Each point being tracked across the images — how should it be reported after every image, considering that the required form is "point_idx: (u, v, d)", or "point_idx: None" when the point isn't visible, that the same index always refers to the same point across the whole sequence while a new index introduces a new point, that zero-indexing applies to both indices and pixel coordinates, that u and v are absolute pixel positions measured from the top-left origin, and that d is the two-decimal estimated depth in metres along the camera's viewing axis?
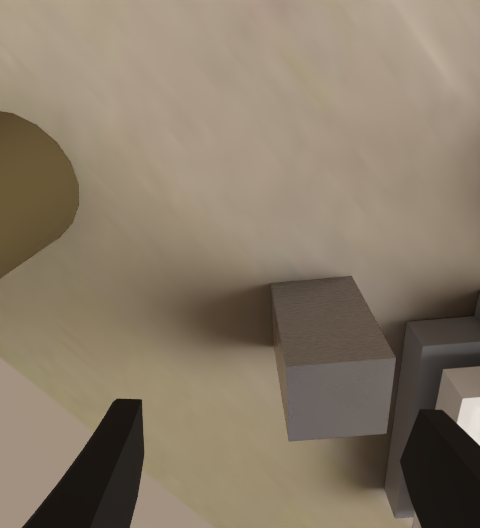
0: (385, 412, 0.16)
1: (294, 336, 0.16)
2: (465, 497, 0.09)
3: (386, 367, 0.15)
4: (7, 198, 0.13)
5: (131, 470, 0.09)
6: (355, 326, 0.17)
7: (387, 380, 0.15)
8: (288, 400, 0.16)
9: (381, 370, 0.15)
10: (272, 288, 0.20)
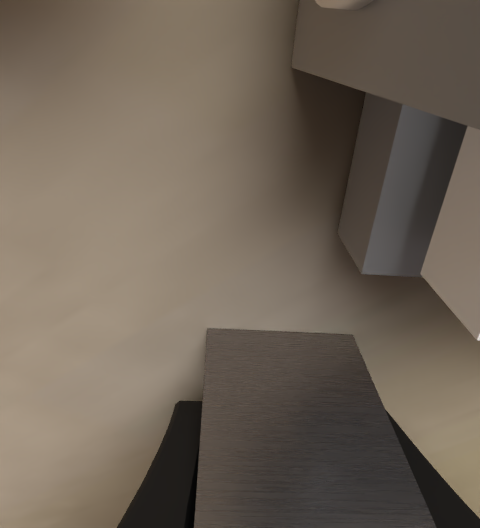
0: None
1: None
2: None
3: None
4: None
5: None
6: None
7: None
8: None
9: None
10: None
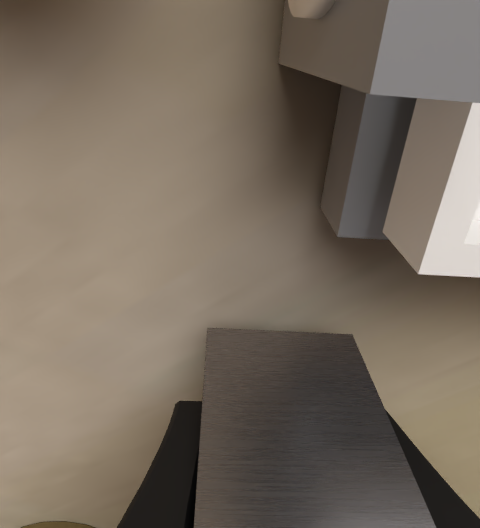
0: None
1: None
2: None
3: None
4: None
5: None
6: None
7: None
8: None
9: None
10: None
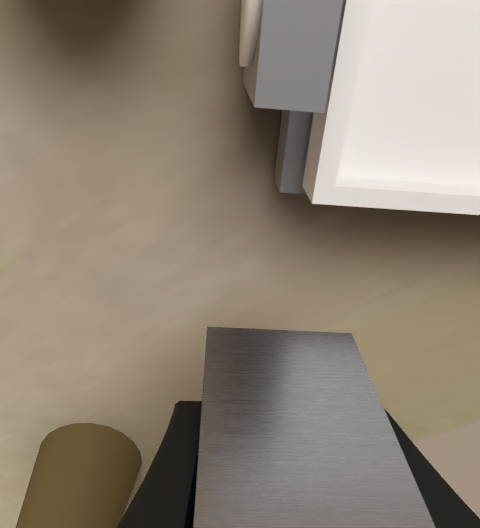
0: None
1: None
2: None
3: None
4: (46, 505, 0.20)
5: None
6: None
7: None
8: None
9: None
10: None
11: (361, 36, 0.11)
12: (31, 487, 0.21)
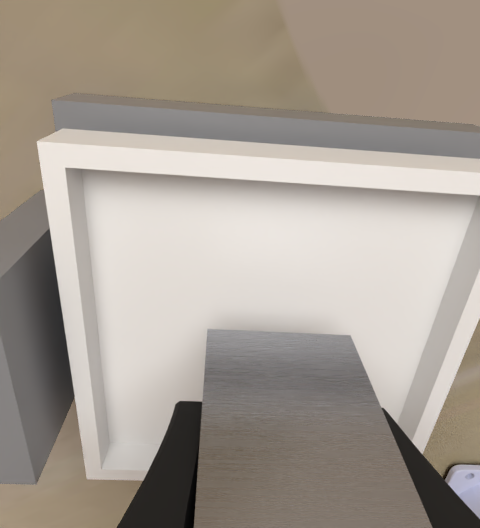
0: None
1: None
2: None
3: None
4: None
5: None
6: None
7: None
8: None
9: None
10: None
11: (90, 392, 0.14)
12: None
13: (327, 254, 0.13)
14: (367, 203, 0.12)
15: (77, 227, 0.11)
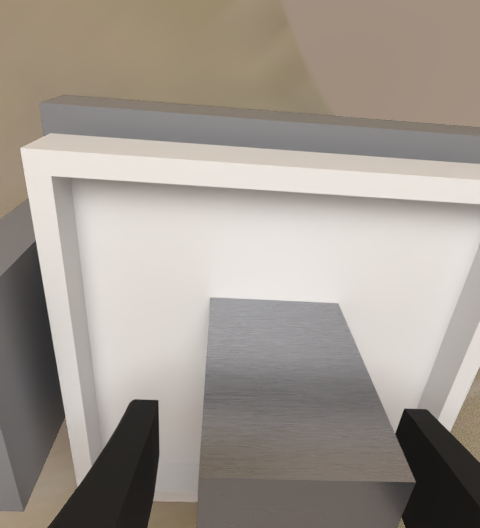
0: (349, 485, 0.08)
1: None
2: (446, 497, 0.09)
3: (221, 488, 0.08)
4: None
5: (149, 470, 0.09)
6: None
7: (258, 484, 0.08)
8: None
9: (227, 495, 0.08)
10: None
11: (82, 411, 0.13)
12: None
13: (332, 266, 0.12)
14: (375, 212, 0.12)
15: (65, 238, 0.11)
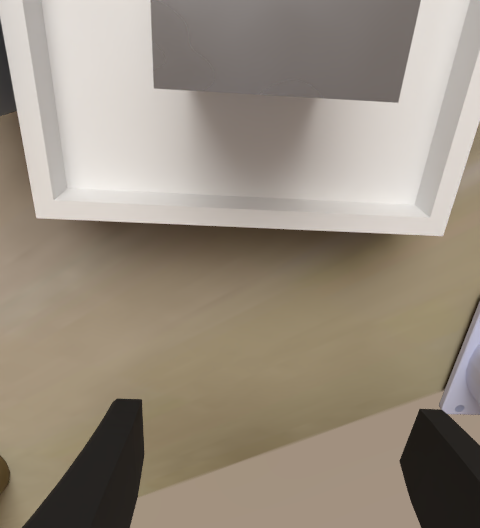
0: None
1: None
2: (465, 497, 0.09)
3: None
4: None
5: (131, 470, 0.09)
6: None
7: None
8: (259, 91, 0.07)
9: None
10: None
11: (28, 51, 0.10)
12: None
13: None
14: None
15: None
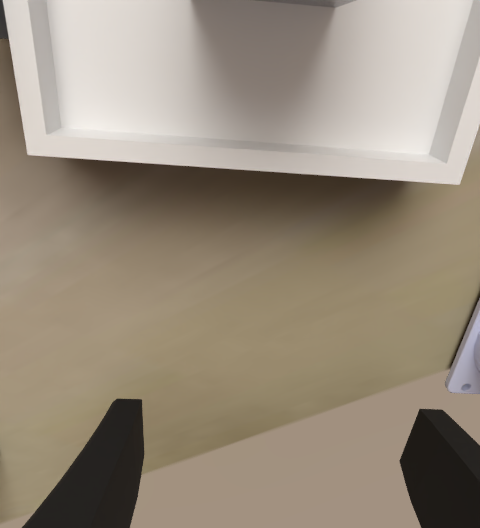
0: None
1: None
2: (465, 497, 0.09)
3: None
4: None
5: (131, 470, 0.09)
6: None
7: None
8: None
9: None
10: None
11: None
12: None
13: None
14: None
15: None
